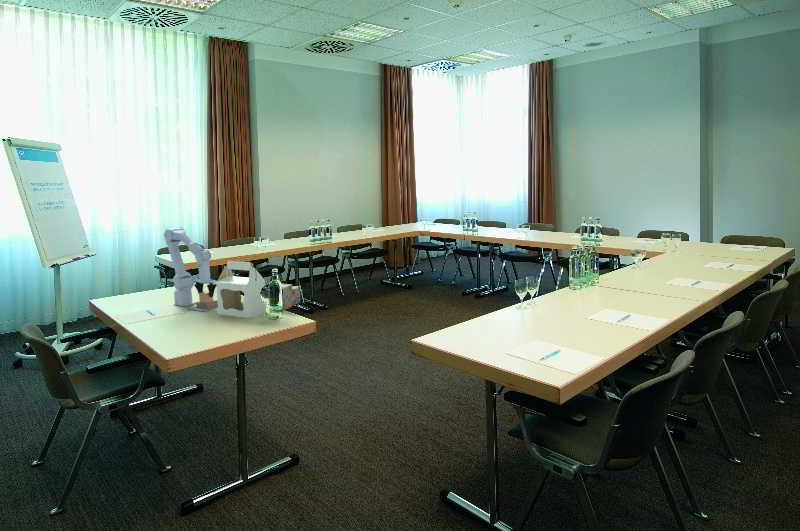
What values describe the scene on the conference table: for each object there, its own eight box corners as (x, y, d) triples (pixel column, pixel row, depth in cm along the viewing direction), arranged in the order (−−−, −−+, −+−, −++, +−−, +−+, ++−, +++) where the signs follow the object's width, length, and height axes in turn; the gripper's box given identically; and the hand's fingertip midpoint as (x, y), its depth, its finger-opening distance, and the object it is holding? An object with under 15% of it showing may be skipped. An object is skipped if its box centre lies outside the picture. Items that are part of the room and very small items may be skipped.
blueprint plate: (188, 310, 295) (187, 303, 295) (209, 303, 310) (209, 297, 309) (204, 311, 290) (204, 305, 290) (225, 305, 305) (225, 298, 304)
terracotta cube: (199, 301, 298) (199, 293, 297) (206, 300, 303) (205, 291, 302) (206, 302, 296) (205, 293, 295) (213, 300, 301) (212, 291, 300)
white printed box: (291, 301, 311) (289, 280, 309) (300, 302, 309) (299, 281, 307) (272, 310, 290) (271, 288, 288) (282, 311, 289) (281, 288, 287)
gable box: (267, 312, 286) (264, 260, 281) (250, 318, 274) (246, 264, 270) (236, 308, 296) (232, 258, 291) (218, 314, 284) (213, 262, 280)
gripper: (189, 272, 296) (191, 296, 298) (209, 274, 290) (211, 298, 292) (198, 270, 303) (200, 294, 305) (218, 272, 297) (220, 296, 299)
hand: (206, 296), depth 299 cm, fingers open, 7 cm apart
